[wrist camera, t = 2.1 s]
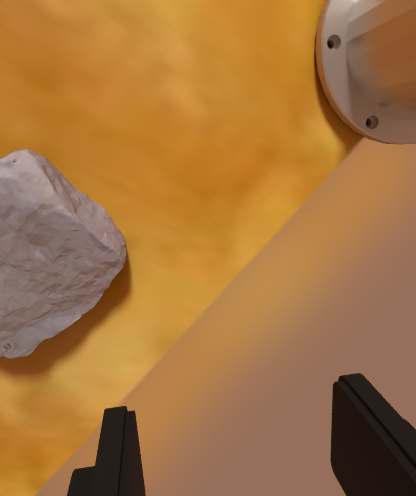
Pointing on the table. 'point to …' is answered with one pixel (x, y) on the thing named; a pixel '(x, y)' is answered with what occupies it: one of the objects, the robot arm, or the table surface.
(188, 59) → the table surface
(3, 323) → the stone block
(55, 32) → the table surface
